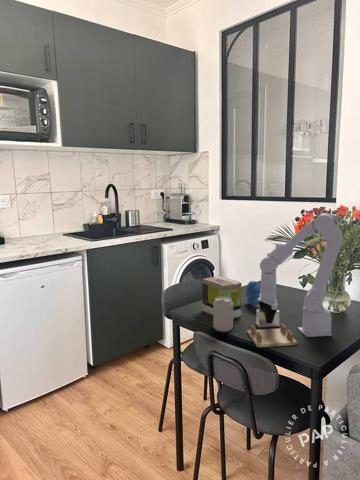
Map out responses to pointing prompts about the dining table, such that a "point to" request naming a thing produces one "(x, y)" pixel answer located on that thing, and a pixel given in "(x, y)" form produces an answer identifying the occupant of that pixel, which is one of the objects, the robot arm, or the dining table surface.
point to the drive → (262, 319)
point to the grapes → (253, 293)
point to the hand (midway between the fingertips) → (267, 321)
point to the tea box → (221, 293)
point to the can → (223, 314)
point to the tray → (272, 337)
